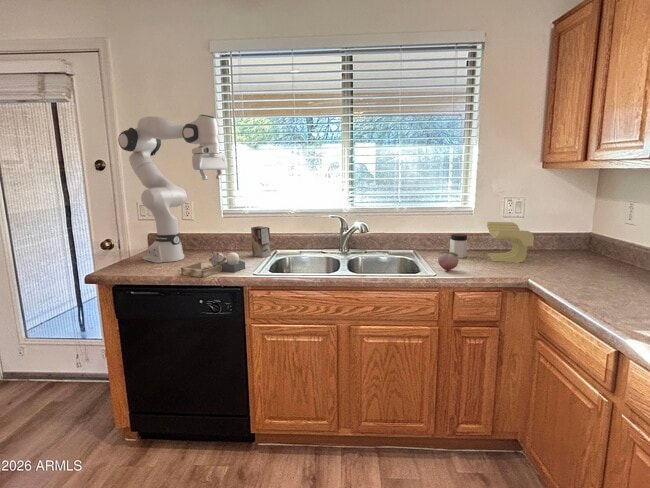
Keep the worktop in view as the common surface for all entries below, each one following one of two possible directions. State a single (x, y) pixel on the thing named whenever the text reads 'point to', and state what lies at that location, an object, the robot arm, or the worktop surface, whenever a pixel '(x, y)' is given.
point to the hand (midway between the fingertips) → (211, 179)
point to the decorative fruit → (448, 260)
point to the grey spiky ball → (217, 258)
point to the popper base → (233, 266)
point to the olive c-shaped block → (515, 235)
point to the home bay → (194, 270)
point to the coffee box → (260, 241)
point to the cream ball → (232, 258)
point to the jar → (459, 244)
